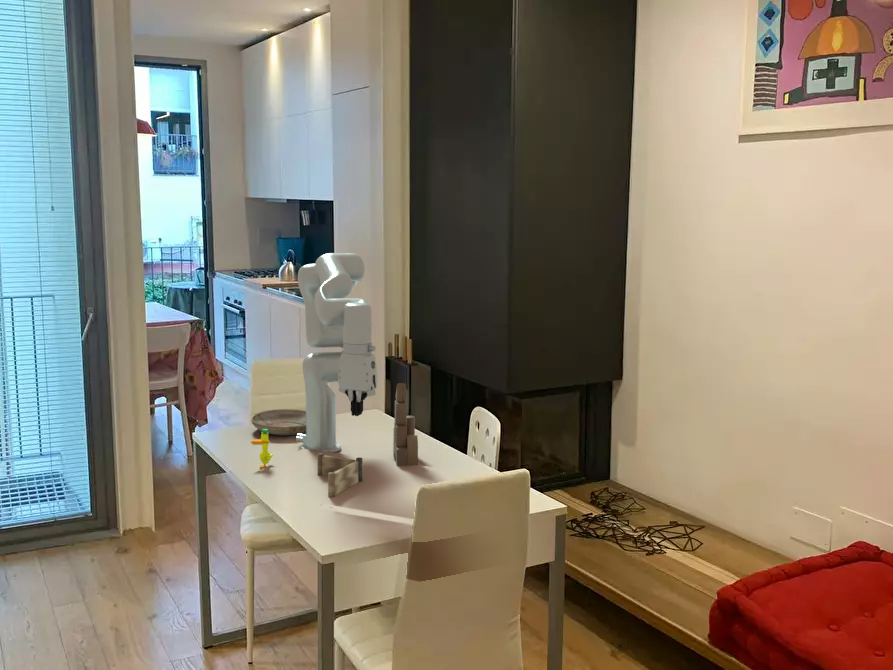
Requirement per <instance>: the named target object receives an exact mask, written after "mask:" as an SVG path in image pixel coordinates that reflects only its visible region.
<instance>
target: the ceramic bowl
mask: <svg viewBox="0 0 893 670" xmlns="http://www.w3.org/2000/svg"><path fill="white" fill-rule="evenodd" d="M251 424H252V425H253V426H254V427H255V428H256V429H257V430H259V431H260V432H263V429H268V435H275V436H293V435H297V434H298V433H300V434H306V410H303V409H291V408H289V409H288V408H284V409H283V408H282V409H281V408H279V409H271V410H270V409H269V410H265V411H259V412H258V413H255V414H254V415H252V417H251Z"/></svg>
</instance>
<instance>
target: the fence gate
mask: <svg viewBox="0 0 893 670" xmlns="http://www.w3.org/2000/svg"><path fill="white" fill-rule="evenodd" d="M358 483H359V482H358V461H356V460H355V462H353V463H351V464H349V465H347V466H345V467H343V468H341V469H339V470H337V471H335V472H329V473H328V476H327V485H328V486H327V491H328V492H327V494H328V495H327V496H328V498H334V497H336V495H338V494H339V493H342V492H344V491H345V490H347V489H349V488H350V487H353V486H354V485H356V484H358Z"/></svg>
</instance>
